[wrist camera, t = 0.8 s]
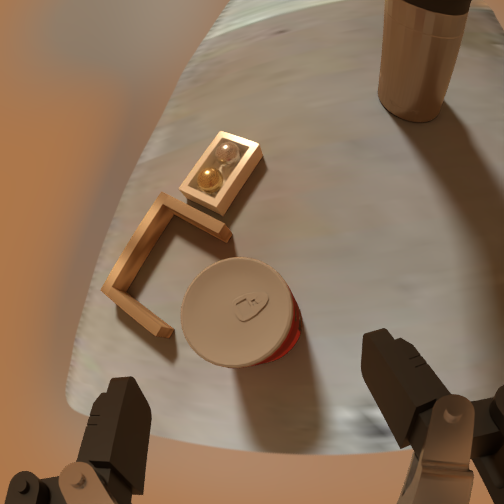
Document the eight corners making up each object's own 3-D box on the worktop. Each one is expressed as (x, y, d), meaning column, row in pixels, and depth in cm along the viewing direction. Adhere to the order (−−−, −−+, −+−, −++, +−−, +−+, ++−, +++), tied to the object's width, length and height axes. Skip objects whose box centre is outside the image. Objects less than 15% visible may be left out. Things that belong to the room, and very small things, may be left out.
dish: (226, 141, 39) (220, 130, 37) (263, 155, 37) (259, 143, 35) (186, 198, 38) (178, 188, 35) (222, 216, 36) (216, 207, 33)
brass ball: (211, 172, 37) (203, 158, 34) (231, 180, 36) (224, 167, 33) (197, 192, 37) (188, 179, 34) (217, 201, 36) (208, 189, 33)
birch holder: (172, 202, 38) (161, 191, 35) (232, 233, 35) (224, 223, 32) (115, 295, 36) (100, 290, 33) (169, 338, 33) (155, 336, 30)
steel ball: (228, 148, 38) (221, 134, 35) (248, 156, 37) (242, 141, 34) (215, 167, 37) (207, 153, 35) (235, 175, 36) (227, 161, 34)
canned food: (318, 323, 30) (317, 309, 20) (260, 379, 29) (228, 393, 19) (265, 271, 33) (238, 233, 23) (210, 324, 32) (160, 310, 22)
